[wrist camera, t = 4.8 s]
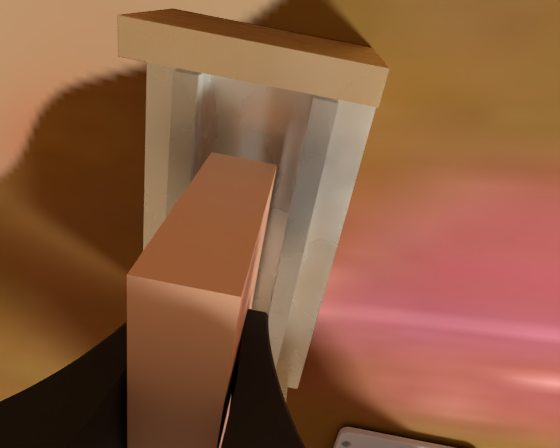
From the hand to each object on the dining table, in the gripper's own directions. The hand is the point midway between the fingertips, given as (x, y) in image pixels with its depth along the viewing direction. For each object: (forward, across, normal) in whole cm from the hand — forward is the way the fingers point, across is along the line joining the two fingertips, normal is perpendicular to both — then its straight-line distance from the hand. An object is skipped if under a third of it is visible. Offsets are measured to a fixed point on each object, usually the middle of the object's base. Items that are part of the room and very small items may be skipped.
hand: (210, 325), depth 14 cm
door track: (+6, 0, 0) cm, 6 cm away
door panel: (+3, 0, 0) cm, 3 cm away
